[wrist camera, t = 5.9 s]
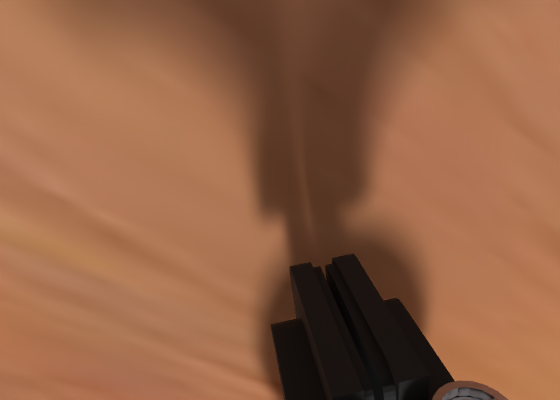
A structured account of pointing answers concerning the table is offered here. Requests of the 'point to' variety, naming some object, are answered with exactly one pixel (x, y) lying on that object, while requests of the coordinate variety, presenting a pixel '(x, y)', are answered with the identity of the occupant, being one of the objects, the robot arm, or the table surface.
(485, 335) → the table surface
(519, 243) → the table surface
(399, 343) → the robot arm
